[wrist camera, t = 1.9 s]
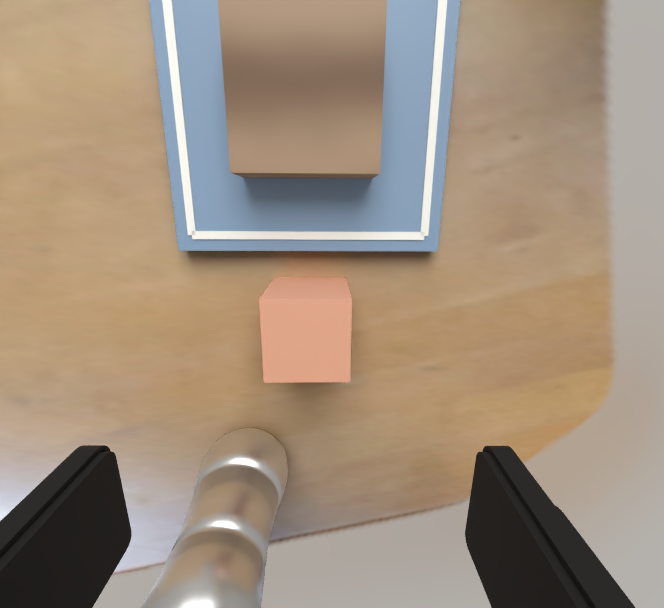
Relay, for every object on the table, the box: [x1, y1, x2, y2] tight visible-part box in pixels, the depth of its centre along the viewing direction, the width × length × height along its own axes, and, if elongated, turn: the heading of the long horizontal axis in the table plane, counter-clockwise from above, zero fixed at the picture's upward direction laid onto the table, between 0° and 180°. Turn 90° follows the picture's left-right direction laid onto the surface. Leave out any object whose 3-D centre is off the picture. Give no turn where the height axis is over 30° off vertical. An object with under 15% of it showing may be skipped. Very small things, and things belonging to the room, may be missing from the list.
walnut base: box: [218, 0, 387, 179], centre depth 18 cm, size 8×8×3 cm
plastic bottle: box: [141, 428, 288, 608], centre depth 18 cm, size 6×7×20 cm
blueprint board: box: [149, 0, 460, 251], centre depth 20 cm, size 17×17×1 cm
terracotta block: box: [259, 277, 352, 383], centre depth 22 cm, size 5×5×6 cm
